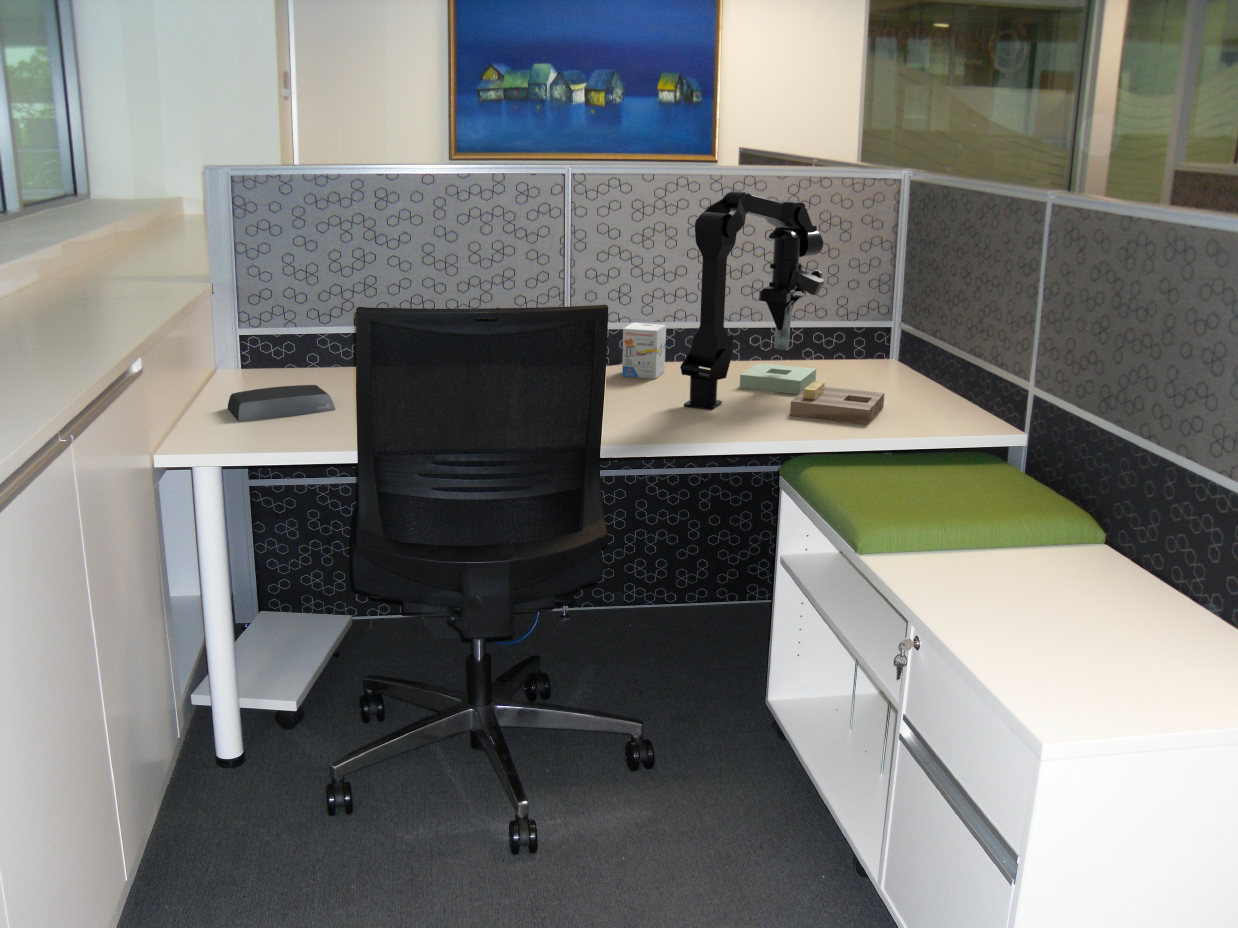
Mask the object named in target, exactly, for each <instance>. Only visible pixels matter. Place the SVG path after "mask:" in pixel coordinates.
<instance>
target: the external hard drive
mask: <svg viewBox="0 0 1238 928" xmlns="http://www.w3.org/2000/svg"><path fill="white" fill-rule="evenodd" d="M227 410H228V411H229V412H230V413H231V414H232V415H233V416H234V418H235V419H236V421H238V422H250V421H260V420H269V419H280V418H288V417H297V416H305V415H311V414H312V415H313V414H320V413H326V412H332V411H333V412H334V411H336V407H335V403H334V401H333V399H332V397H331V395H330V394H329V393H327V391H325V390H323V389H322V388H321V387H320V386H319V385H317V384H300V385H299V384H297V385H284V386H283V385H282V386H271V387H264V388H257V389H251V390H249V389H248V390H243V391H238V392H234V393H231V394H230V396H229V399H228V402H227Z"/></svg>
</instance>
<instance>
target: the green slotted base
mask: <svg viewBox="0 0 1238 928" xmlns="http://www.w3.org/2000/svg"><path fill="white" fill-rule="evenodd" d="M816 376H817V368H813V367H802V366H792V365H783V364H773V363H762V362H758V363H756V364H754V365H753V366H751V367H750V368H748V369H746V370H745V371H743V372H742V373H741V374H739V388H741V389H742V388H743V389H750V390H759V391H769V392H777V393H787V394H795V395H797V394H798V395H799V394H800V393H801V392H803V391H804V389H805V388H806V387H807V386H808V385H809V384H811V383H812V382H813V381H816V382H817V380H816V378H817V377H816Z"/></svg>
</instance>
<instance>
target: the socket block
mask: <svg viewBox="0 0 1238 928" xmlns="http://www.w3.org/2000/svg"><path fill="white" fill-rule="evenodd" d="M803 394H804V391H803V392H801V393H800V394H798V395H797V396H796V397H794V398H793V399H791V400H790V409H789V413H790V414H789V416H792V417H802V418H811V419H818V420H827V421H834V420H835V422H843V423H853V424H861V425H869V424H870V423H871V422H872V421H873V419H875V417H876V416H877V415H878V414H879V413H880V411H881V410H882V409H883V408H884V405H885V404H884V403H885V395H886V394H885V392H880V391H871V390H862V389H851V388H843V387H842V388H841V387H835V386H833V387H831V386H824V392H823V393H822V394H821V395H820V396H818V397H817V398H816V399H815V400H812V399H803ZM882 407H883V408H882Z"/></svg>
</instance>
